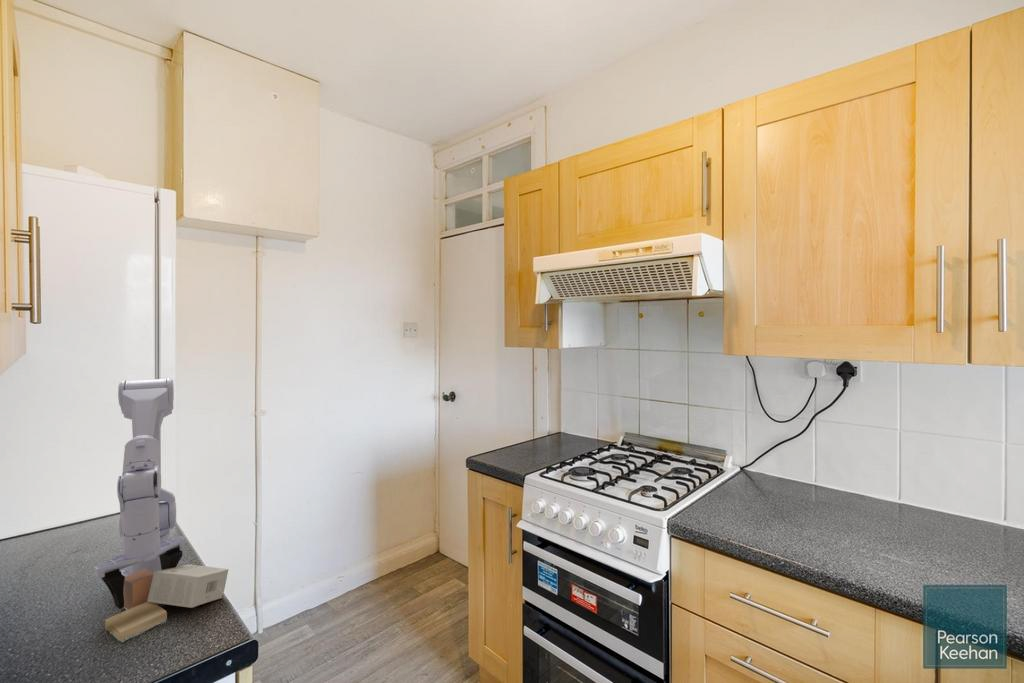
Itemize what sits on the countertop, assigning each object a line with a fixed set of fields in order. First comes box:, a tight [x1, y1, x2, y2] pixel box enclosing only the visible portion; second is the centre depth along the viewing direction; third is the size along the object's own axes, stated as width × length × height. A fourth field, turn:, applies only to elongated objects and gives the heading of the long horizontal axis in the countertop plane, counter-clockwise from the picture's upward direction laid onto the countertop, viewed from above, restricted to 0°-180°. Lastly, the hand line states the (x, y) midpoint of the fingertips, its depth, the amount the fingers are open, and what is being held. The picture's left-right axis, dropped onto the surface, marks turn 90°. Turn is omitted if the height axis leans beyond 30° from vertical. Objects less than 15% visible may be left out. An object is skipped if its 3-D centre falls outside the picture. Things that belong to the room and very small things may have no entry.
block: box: [123, 569, 154, 609], centre depth 92 cm, size 4×4×6 cm
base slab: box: [104, 602, 168, 641], centre depth 86 cm, size 7×7×2 cm
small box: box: [147, 563, 229, 609], centre depth 93 cm, size 8×6×10 cm
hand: (143, 596), depth 93 cm, fingers open, 7 cm apart
